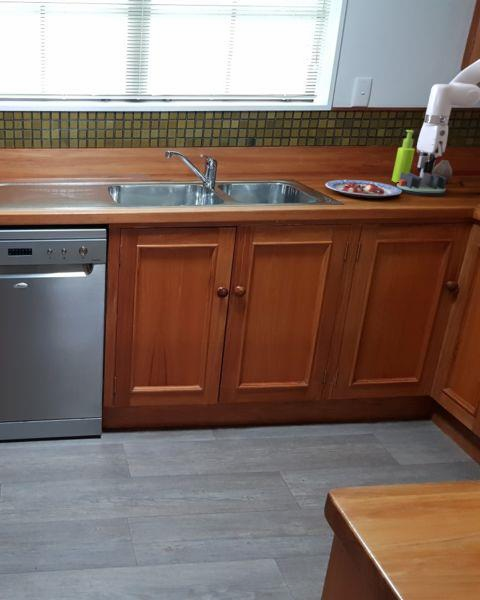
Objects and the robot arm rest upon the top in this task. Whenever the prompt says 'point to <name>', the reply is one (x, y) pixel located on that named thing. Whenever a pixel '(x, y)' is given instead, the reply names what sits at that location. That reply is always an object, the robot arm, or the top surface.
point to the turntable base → (423, 193)
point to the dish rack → (422, 180)
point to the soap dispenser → (404, 157)
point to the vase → (443, 170)
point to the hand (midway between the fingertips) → (424, 171)
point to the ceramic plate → (363, 188)
